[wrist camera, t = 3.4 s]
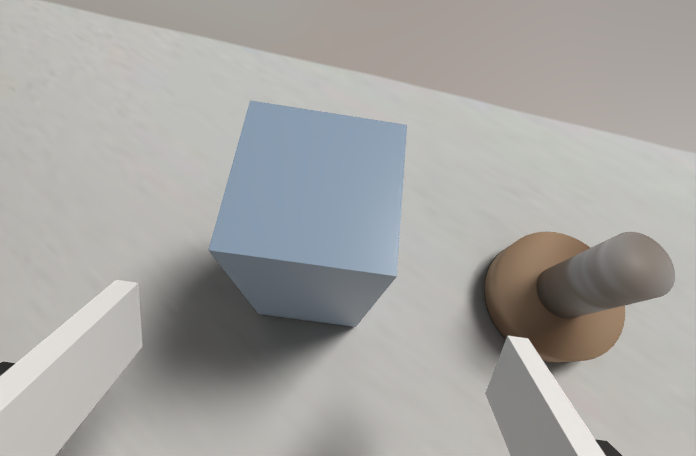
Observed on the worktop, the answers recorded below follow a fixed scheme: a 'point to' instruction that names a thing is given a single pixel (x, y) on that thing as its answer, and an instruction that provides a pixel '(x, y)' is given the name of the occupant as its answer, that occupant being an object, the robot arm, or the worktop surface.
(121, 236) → the worktop surface
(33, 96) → the worktop surface
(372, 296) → the upright blue pillar
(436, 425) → the worktop surface
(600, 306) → the post stand
